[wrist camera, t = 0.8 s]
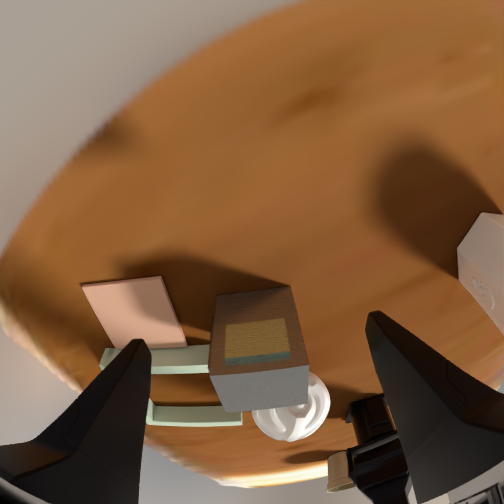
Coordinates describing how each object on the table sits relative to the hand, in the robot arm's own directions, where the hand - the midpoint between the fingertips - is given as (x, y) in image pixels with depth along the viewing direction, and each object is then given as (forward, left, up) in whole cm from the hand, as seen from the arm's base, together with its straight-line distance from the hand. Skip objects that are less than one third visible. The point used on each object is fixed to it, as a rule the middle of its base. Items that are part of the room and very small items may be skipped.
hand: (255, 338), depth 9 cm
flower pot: (-56, -13, -12) cm, 59 cm away
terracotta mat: (-8, +11, -11) cm, 18 cm away
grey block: (-9, 0, -11) cm, 14 cm away
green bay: (-19, +10, -11) cm, 24 cm away
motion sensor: (-19, -2, -12) cm, 22 cm away
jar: (-6, -24, -12) cm, 27 cm away
